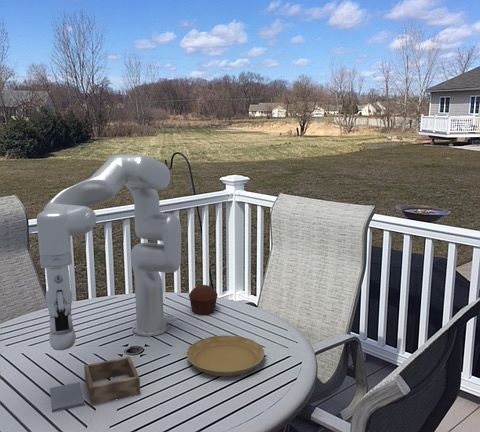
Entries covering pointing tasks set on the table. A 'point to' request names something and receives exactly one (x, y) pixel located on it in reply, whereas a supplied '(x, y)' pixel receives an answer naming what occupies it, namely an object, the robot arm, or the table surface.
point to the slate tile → (66, 396)
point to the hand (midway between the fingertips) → (61, 324)
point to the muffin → (203, 300)
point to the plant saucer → (225, 355)
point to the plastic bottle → (60, 338)
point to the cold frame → (114, 388)
